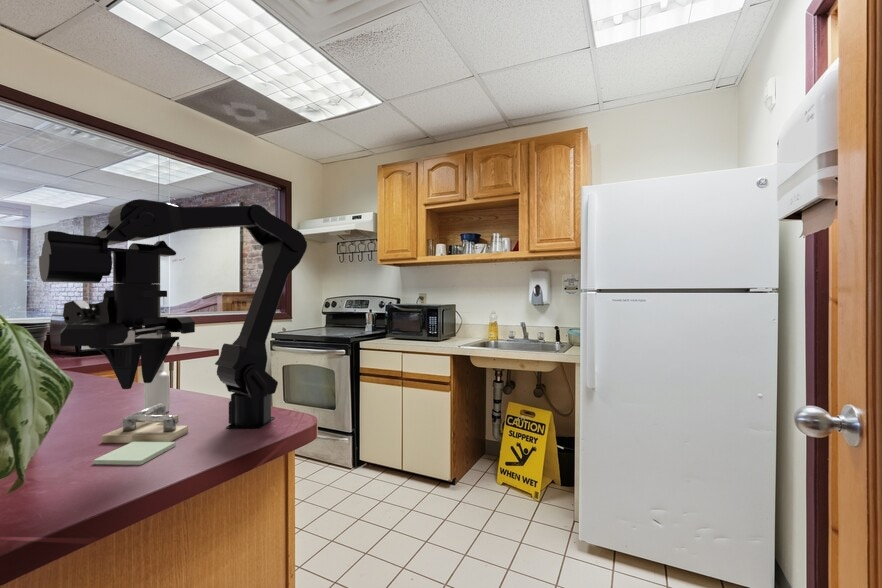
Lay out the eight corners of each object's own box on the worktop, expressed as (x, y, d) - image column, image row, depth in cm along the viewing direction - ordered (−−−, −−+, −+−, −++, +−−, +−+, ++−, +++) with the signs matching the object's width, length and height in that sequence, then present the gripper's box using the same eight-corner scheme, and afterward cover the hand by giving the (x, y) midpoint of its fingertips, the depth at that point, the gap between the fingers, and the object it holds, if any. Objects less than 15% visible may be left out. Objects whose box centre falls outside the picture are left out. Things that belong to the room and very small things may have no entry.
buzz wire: (209, 421, 75) (209, 401, 75) (167, 443, 64) (167, 420, 64) (152, 420, 75) (152, 401, 75) (102, 442, 64) (102, 419, 64)
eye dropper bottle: (169, 406, 85) (169, 351, 85) (170, 413, 80) (170, 355, 80) (143, 410, 82) (144, 353, 82) (143, 417, 78) (143, 357, 78)
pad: (175, 445, 63) (175, 442, 63) (141, 464, 56) (141, 460, 56) (132, 445, 63) (132, 441, 63) (93, 464, 56) (93, 460, 56)
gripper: (134, 285, 69) (134, 373, 69) (18, 282, 50) (18, 402, 50) (196, 285, 69) (196, 373, 69) (103, 282, 50) (103, 403, 50)
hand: (137, 385), depth 59 cm, fingers open, 4 cm apart
